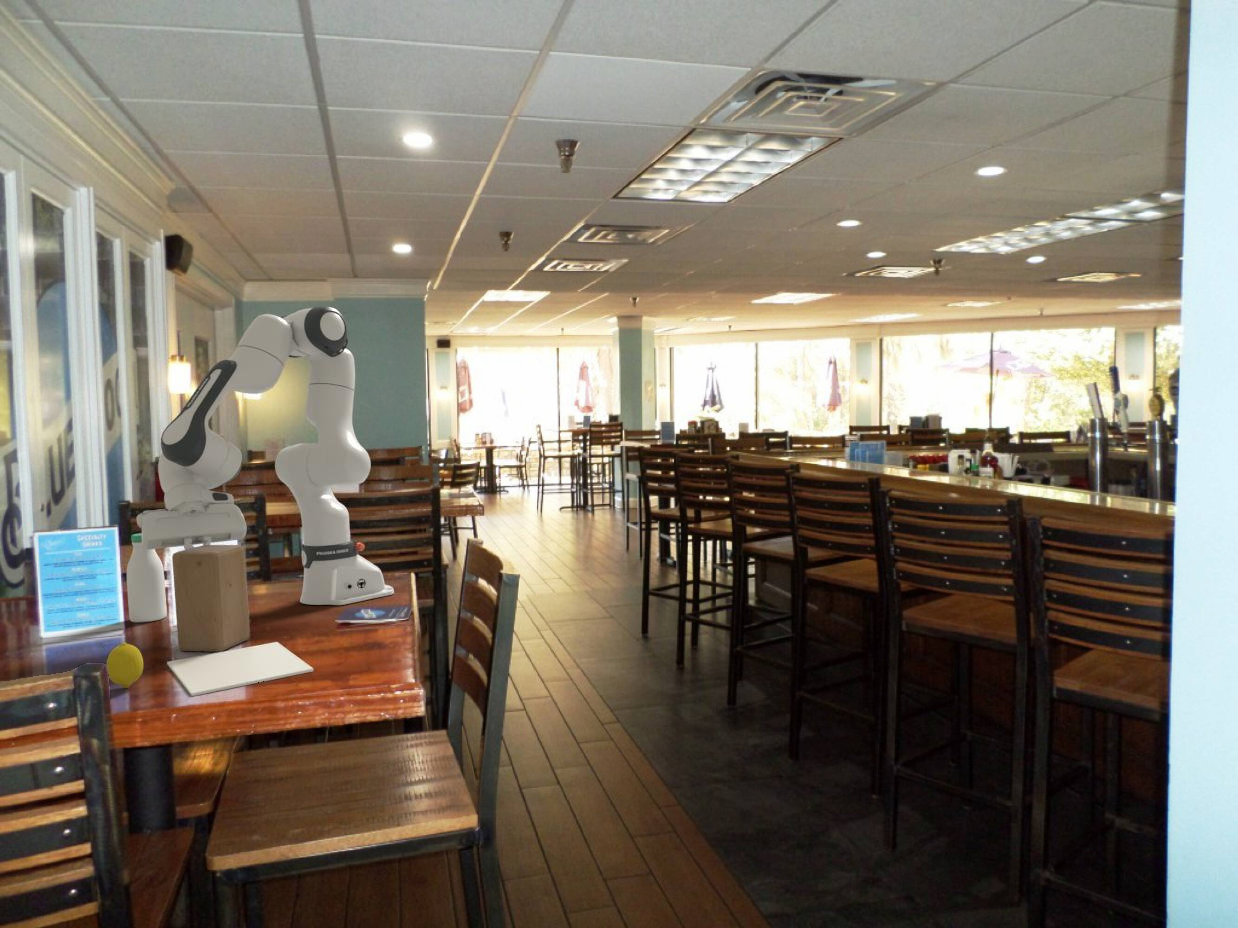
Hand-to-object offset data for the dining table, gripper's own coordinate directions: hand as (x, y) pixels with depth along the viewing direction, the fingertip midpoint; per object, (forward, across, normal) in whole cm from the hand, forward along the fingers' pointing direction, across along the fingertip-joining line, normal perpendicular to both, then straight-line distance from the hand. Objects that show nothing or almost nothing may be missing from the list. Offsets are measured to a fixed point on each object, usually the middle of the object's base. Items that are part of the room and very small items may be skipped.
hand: (201, 557), depth 182 cm
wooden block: (+18, 0, +6) cm, 19 cm away
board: (+32, 0, -8) cm, 33 cm away
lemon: (+32, -18, -7) cm, 37 cm away
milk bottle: (-8, -7, +33) cm, 34 cm away
